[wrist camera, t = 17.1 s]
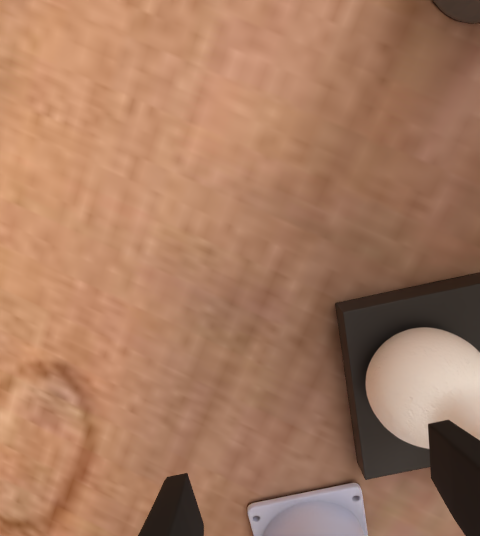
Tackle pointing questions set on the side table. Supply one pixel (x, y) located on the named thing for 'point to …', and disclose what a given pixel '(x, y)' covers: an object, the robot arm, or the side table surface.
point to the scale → (383, 328)
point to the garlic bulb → (425, 383)
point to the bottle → (461, 9)
